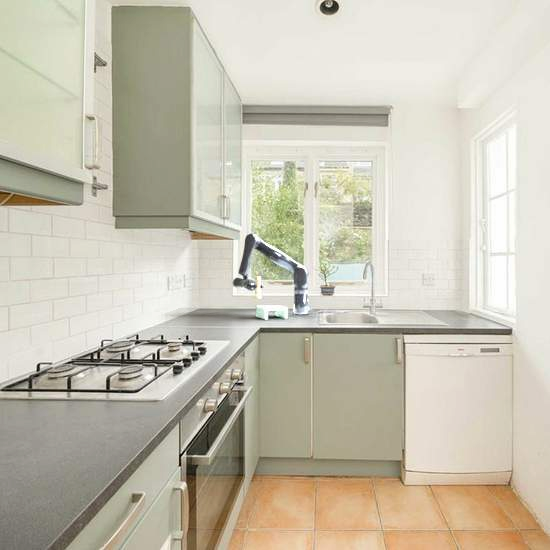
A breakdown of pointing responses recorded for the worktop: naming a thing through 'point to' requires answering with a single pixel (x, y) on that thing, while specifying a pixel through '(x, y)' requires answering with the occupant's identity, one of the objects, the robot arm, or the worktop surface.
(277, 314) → the shelf
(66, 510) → the worktop surface
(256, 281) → the stick
